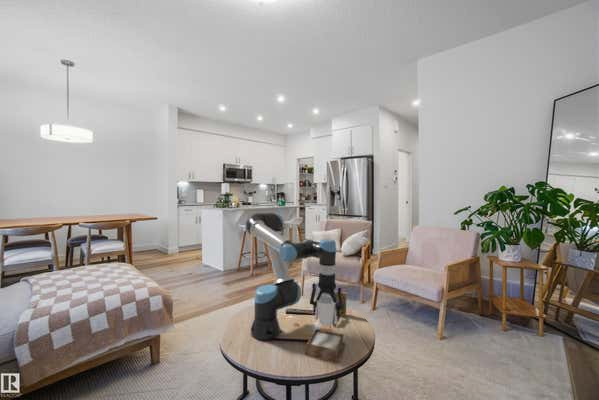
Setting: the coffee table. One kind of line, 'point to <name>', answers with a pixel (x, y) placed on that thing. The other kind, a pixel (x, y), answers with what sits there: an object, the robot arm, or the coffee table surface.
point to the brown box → (325, 345)
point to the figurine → (343, 311)
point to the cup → (326, 310)
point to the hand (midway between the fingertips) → (326, 321)
